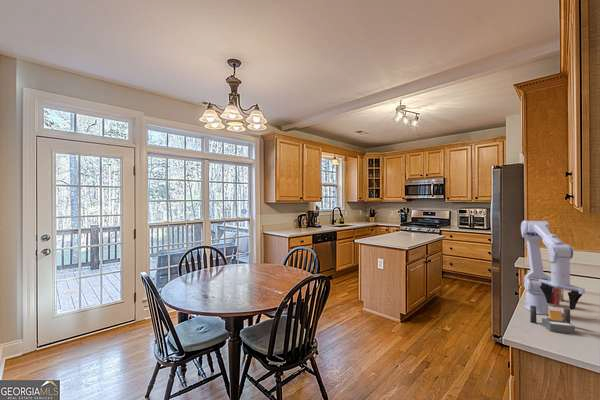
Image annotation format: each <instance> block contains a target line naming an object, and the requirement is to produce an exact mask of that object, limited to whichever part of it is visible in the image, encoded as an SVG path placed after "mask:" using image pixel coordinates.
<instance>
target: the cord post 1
mask: <svg viewBox="0 0 600 400" xmlns="http://www.w3.org/2000/svg"><path fill="white" fill-rule="evenodd" d="M529 312H530V313H529V314H530V315H529V317H530V319H529V320H530V323H532V324H537V314H536V306H532V305H531V306H530V311H529Z"/></svg>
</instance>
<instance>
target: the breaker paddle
mask: <svg viewBox="0 0 600 400" xmlns="http://www.w3.org/2000/svg"><path fill="white" fill-rule="evenodd" d="M548 314H549V315H548V318H550V319H551V320H561V321H563V319H564V318H563V315H562V311H561V310H553V309H552V310H551V309H548Z"/></svg>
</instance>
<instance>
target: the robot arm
mask: <svg viewBox="0 0 600 400" xmlns="http://www.w3.org/2000/svg"><path fill="white" fill-rule="evenodd" d="M520 233H521V237H522V238H524V239H525V242H526V246H527V254H528V261H529V272H528V273H527V274H525V275H524V277H523V279H524V281H523V286H524V289H525V291H526V293H525V305H523V307H524V308H525V309H526V310H528V311H529V312H530V306H531V305H532V306H536V315H545V316H546V315H547V316H549V314H548V310H549V305H548V303H552V292H553V289H554V287H556V288H560V289H563V291H569V292H567V295H568V300H569V304H568V305H569V306H568V307H569V310H570V311H573V310H576V306H577V303H578V301H579V300H580V299H581V297H582V296H583V295H585V293H586V289H585V288H583V287H579V286H576V285H572V284H571V263H570V262H571V259H572V258H573V257H574V250H573V247H572V245H570V244H567V243H564V242H563V241H562V240H561V239H560V238H559V237H558V235H556V234H552V232H551V231H550V223H549V222H548V221H546V220H522V222H521V223H520ZM540 240H541V241H542V244H543V245H544V246H545V248H547V253H548V257H549V258H548V259H549V262H550V276H549V275H548V274H546V273H545V272H544V268H543V267H544V266H543V261H542V253H541V246H540Z"/></svg>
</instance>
